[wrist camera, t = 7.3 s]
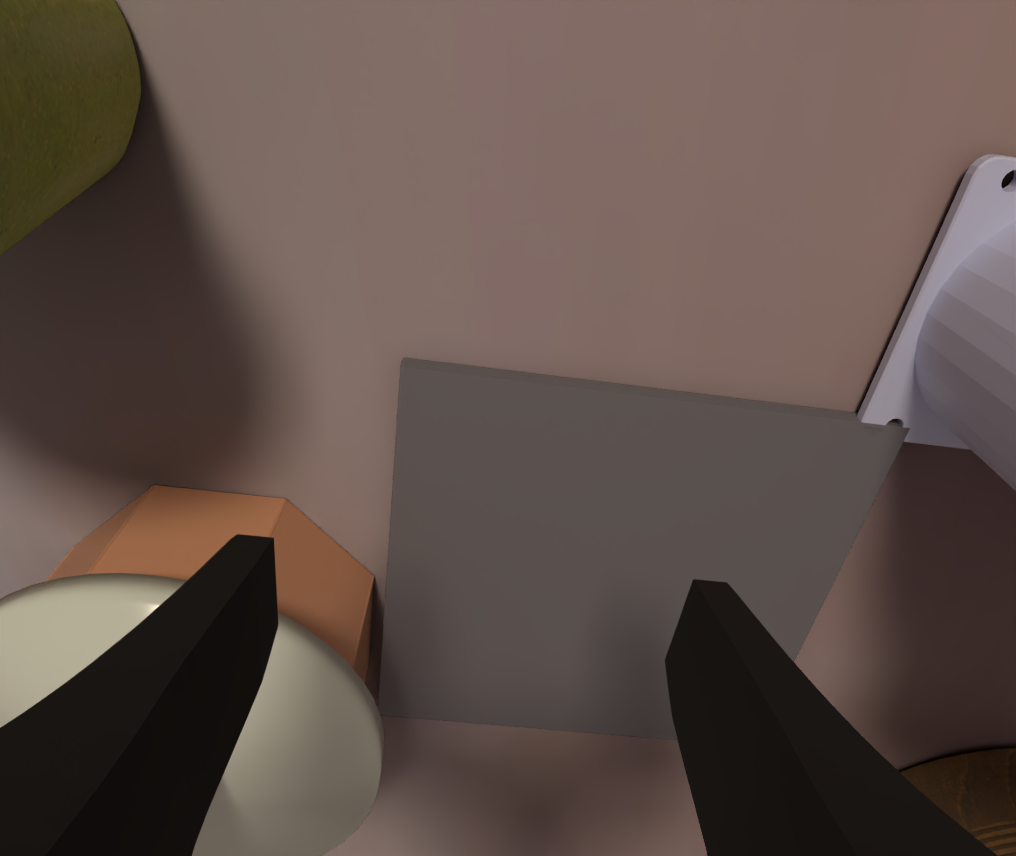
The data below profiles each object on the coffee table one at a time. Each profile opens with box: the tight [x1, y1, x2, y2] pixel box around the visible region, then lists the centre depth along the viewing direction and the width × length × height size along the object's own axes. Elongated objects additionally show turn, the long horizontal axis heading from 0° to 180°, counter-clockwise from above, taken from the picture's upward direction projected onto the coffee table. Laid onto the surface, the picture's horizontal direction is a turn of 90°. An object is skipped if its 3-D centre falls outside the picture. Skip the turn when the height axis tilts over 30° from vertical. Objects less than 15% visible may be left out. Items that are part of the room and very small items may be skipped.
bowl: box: [45, 485, 374, 683], centre depth 23 cm, size 10×10×5 cm
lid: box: [0, 573, 385, 856], centre depth 19 cm, size 12×12×4 cm
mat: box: [378, 358, 910, 740], centre depth 24 cm, size 15×15×1 cm
